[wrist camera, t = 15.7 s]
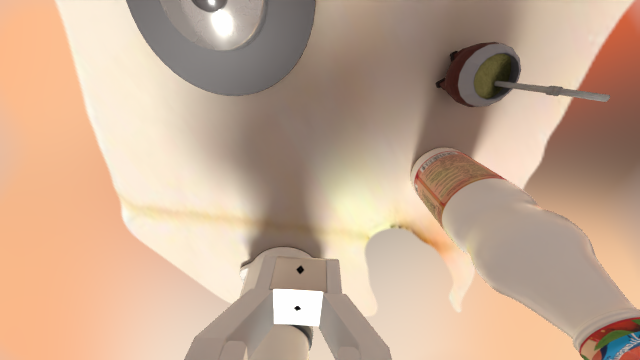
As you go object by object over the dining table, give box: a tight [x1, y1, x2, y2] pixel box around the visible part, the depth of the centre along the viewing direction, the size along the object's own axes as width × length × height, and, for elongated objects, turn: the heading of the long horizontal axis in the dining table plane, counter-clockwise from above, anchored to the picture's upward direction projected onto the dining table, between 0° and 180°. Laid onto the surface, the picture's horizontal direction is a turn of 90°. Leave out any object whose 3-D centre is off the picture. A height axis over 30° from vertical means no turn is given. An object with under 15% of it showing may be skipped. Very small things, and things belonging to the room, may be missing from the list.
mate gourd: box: [436, 42, 610, 107], centre depth 26 cm, size 8×8×15 cm
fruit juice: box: [411, 148, 640, 360], centre depth 27 cm, size 9×9×28 cm
